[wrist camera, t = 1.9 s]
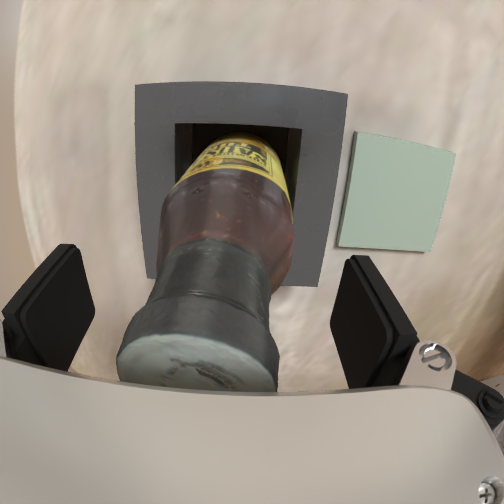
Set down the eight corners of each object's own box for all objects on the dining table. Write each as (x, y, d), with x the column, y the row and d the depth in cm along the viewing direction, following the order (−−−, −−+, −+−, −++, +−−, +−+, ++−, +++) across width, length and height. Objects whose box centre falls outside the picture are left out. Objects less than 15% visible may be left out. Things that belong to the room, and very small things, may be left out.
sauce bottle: (264, 118, 22) (326, 227, 5) (289, 191, 25) (363, 418, 7) (185, 147, 23) (31, 319, 6) (214, 215, 26) (163, 450, 8)
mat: (451, 151, 23) (455, 154, 22) (426, 248, 27) (430, 252, 27) (354, 131, 22) (357, 132, 22) (336, 242, 27) (338, 246, 26)
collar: (324, 93, 21) (348, 93, 16) (304, 247, 27) (317, 286, 22) (161, 85, 20) (135, 84, 15) (165, 240, 27) (147, 278, 22)
